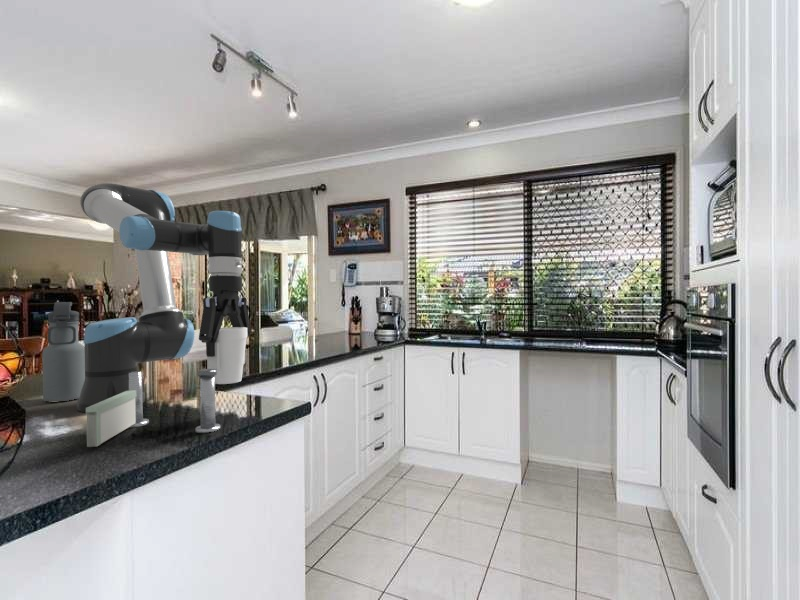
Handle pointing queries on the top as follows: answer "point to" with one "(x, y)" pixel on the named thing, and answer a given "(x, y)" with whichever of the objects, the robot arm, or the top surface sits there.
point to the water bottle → (63, 356)
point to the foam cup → (231, 354)
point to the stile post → (207, 401)
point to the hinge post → (137, 397)
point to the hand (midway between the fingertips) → (227, 366)
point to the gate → (110, 417)
